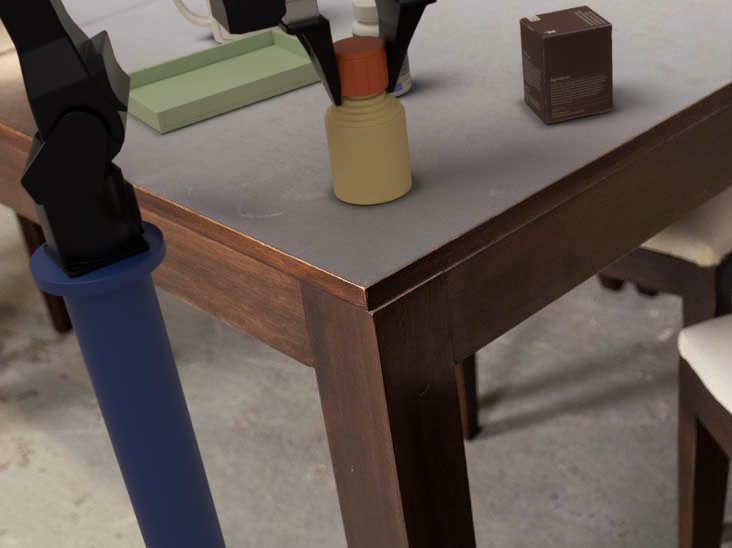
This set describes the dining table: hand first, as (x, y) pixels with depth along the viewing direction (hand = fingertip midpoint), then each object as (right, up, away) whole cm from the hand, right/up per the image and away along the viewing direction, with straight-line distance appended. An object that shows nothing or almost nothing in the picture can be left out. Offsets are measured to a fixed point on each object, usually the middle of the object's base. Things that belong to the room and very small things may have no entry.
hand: (363, 98), depth 81 cm
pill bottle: (+2, +6, +21) cm, 22 cm away
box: (+17, +2, +13) cm, 21 cm away
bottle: (+1, -6, +4) cm, 7 cm away
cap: (0, +1, 0) cm, 1 cm away
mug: (-14, +18, +41) cm, 47 cm away
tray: (-14, +8, +27) cm, 32 cm away
